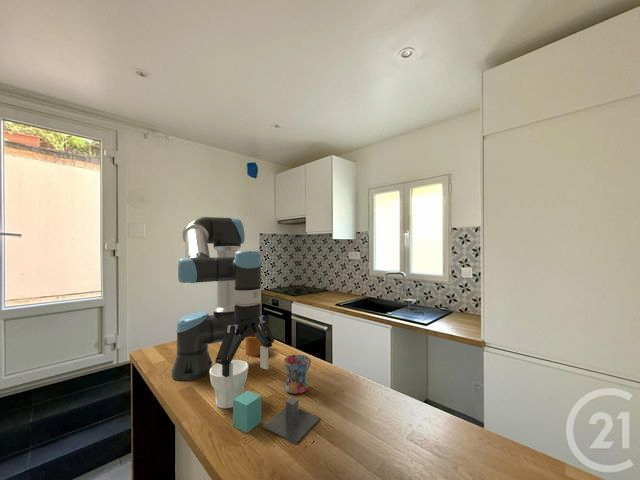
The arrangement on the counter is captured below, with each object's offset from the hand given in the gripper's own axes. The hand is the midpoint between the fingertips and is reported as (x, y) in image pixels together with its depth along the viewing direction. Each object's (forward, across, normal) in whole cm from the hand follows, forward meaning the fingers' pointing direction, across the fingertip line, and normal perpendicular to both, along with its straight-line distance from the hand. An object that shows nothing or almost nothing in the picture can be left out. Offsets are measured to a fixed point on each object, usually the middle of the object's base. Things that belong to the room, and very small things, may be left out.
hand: (247, 377), depth 77 cm
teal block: (+14, 0, 0) cm, 14 cm away
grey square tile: (+14, +7, -11) cm, 19 cm away
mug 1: (+13, +40, +36) cm, 56 cm away
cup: (+14, +5, +14) cm, 20 cm away
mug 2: (+14, +24, -1) cm, 28 cm away
